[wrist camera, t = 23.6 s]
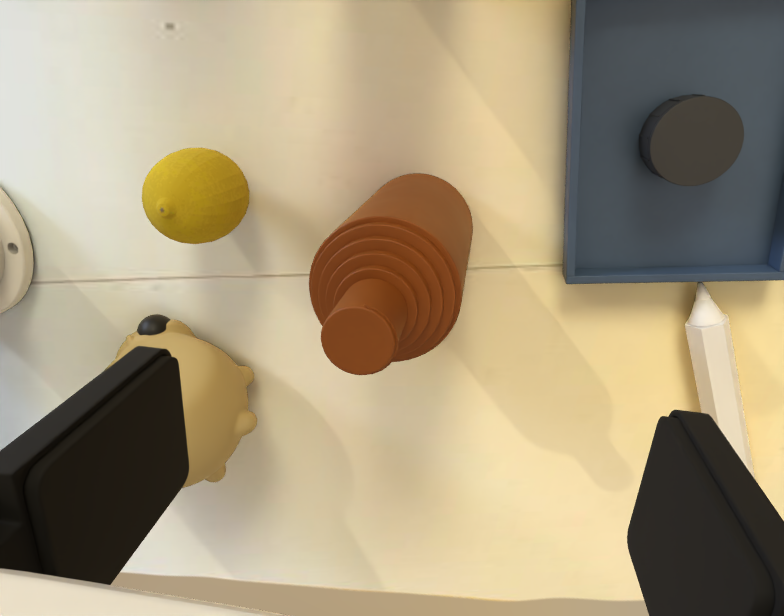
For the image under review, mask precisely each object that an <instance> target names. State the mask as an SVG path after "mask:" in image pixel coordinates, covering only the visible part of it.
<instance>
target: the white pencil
mask: <svg viewBox="0 0 784 616" xmlns="http://www.w3.org/2000/svg"><path fill="white" fill-rule="evenodd" d="M685 328H686V334H687V339H688V344H689V349H690V355H691V360H692V365H693V370H694V376H695V381H696V386H697V391H698V397H699V402H700V407H701V412H702V413H706V414H709V415H710V416H711V417H712V418H713V420H714V421H715V423H716V424H717V425H718V427H719V428H720V430H721V431H722V433H723V434H724V436H725V437H726V439H727V440H728V441H729V443H730V444H731V446H732V447H733V449H734V450H735V452H736V453H737V454H738V456H739V457H740V459H741V460H742V462H743V463H744V465H745V466H746V467H747V469H748V470H749V472H750V473H751V475H752V476H753V478H754V479H755V476H754V470H753V464H752V458H751V451H750V445H749V439H748V433H747V427H746V421H745V415H744V409H743V402H742V396H741V390H740V384H739V378H738V372H737V366H736V360H735V354H734V347H733V341H732V335H731V329H730V323H729V317H728V315H726V314H723V313H722V312H721V310H720V309H719V308H718V306H717V305H716V304H715V302H714V301H713V299H712V298H711V296H710V294H709V292H708V291H707V289H706V287H705V286H704V284H703V282H698V286H697V292H696V298H695V302H694V305H693V308H692V311H691V314H690V317H689V318H688V320H687V322H686V323H685Z"/></svg>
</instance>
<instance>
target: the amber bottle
mask: <svg viewBox="0 0 784 616" xmlns="http://www.w3.org/2000/svg"><path fill="white" fill-rule="evenodd" d="M472 231H473V225H472V218H471V213H470V210H469V208H468V205H467V203H466V202H465V200H464V198H463V197H462V196H461V194H460V193H459V192H458V191H457V190H456V189H455V188H454V187H453V186H452V185H450V184H449V183H447V182H446V181H444V180H442V179H440V178H438V177H435V176H432V175H427V174H407V175H403V176H400V177H397V178H395V179H393V180H391V181H389V182H388V183H386V184H385V185H384V186H383V187H381V188H380V189H379V190H378V191H377V192H376V193H375V194H374V195H373V196H372V197H371V198H370V199H368V200H367V201H366V202H365V203H364V204H363V205H362V206H361V207H360V208H359V209H358V210H357V211H355V212H354V213H353V214H352V215H351V216H350V217H349V218H348V219H347V220H346V221H345V222H344V223H343V224H341V225H340V226H339V227H338V228H337V229H336V230H335V231H334V232H333V233H332V234H331V235H330V236H329V237H328V238H327V239H326V240H325V241H324V242H323V244H322V245H321V246H320V248H319V250H318V251H317V253H316V255H315V257H314V260H313V263H312V266H311V271H310V278H309V290H310V297H311V302H312V305H313V308H314V311H315V313H316V315H317V317H318V319H319V321H320V323H321V325H322V326H323V327H322V331H321V342H322V346H323V349H324V352H325V354H326V355H327V357H328V358H329V360H330V361H331V362H332V363H333V364H334V365H335V366H337V367H338V368H340V369H341V370H343V371H345V372H348V373H351V374H355V375H367V374H374V373H376V372H379V371H382V370H383V369H384V368H386V367H387V366H389V365H390V363H391V362H397V361H404V360H409V359H412V358H416V357H418V356H421V355H423V354H425V353H427V352H429V351H430V350H432V349H434V348H435V347H436V346H437V345H438V344H440V343H441V342H442V341H443V340H444V339H445V338H446V336H447V335H448V334H449V332H450V331H451V329H452V328H453V326H454V324H455V322H456V320H457V317H458V314H459V311H460V306H461V301H462V295H463V288H464V282H465V276H466V270H467V264H468V258H469V252H470V245H471V239H472Z"/></svg>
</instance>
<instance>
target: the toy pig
mask: <svg viewBox="0 0 784 616" xmlns="http://www.w3.org/2000/svg"><path fill="white" fill-rule="evenodd" d="M137 346H146V347H154V348H162V349H167V350H168V351H169V352H170V353H171V356H172V357H175V358H177V360H178V363H179V370H180V380H181V390H182V399H183V409H184V419H185V428H186V438H187V448H188V457H189V474H188V477H187V480H186V482H185V484H184V485H183V487H182V488H184V487H187V486H191V485H193V484H196V483H198V482H200V481H202V480H204V479H205V480H207V481H209V482H218V481H220V480H221V479H222V478H223V477H224V475H225V472H226V467H225V462H226V461H227V460H228V459H229V457H230V456H231V455H232V453H233V452H234V450H235V449H236V447H237V445H238V443H239V441H240V439H241V437H242V436H244V435H246V434H248V433H250V432H251V431H252V430H254V428H255V427H256V424H257V418H256V416H255V414H254V413H252V412H250V411H248V394H247V389H246V387H247V386H248V385H249V384H250V383H251V382H252V381H253V379H254V373H253V371H252V370H251V369H250V368H249V367H246V366H237V365H236V364H235V363H234V361H233V360H232V359H231V358H230V357H229V356H228V355H227V354H226V353H224V352H223V351H222V350H220V349H219V348H217V347H216V346H214V345H212V344H210V343H208V342H205V341H203V340H200V339H197V338H196V337H195V336H194V334H193V332H192V331H191V330H190V329H189V328H188V327H187V326H186V325H185V324H184V323H182V322H180V321H177V320H170V319H169V318H167V317H165V316H163V315H150V316H148V317H146V318H144V319H143V320H142V321H141V322H140V324H139V326H138V329H137V331H136V332H134V333H133V334H132V335H128V336H127V337H126V341H125V342H124V343H123V344H122V346H121V347H120V349H119V351H118V353H117V356H116V359H115V360H114V361H113V362H112V363H111V364H110V365H109V366H108V367H107V368H106V369H108V368H109V367H110V366H111V365H113V364H114V363H115V362H117V361H118V360H119V359H121V358H122V357H123V356H124V355H126V354H127V353H128V352H130V351H131V350H132V349H134V348H135V347H137ZM106 369H105V370H106Z"/></svg>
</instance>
